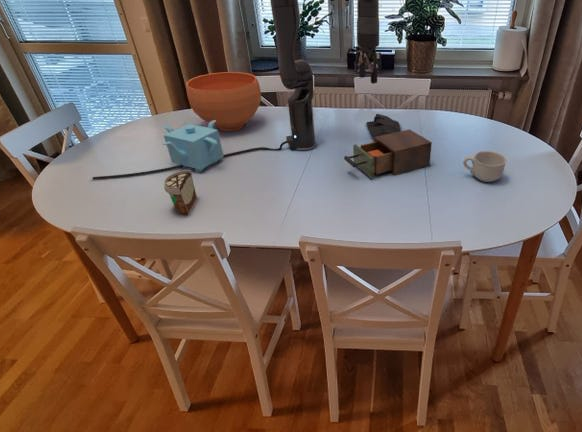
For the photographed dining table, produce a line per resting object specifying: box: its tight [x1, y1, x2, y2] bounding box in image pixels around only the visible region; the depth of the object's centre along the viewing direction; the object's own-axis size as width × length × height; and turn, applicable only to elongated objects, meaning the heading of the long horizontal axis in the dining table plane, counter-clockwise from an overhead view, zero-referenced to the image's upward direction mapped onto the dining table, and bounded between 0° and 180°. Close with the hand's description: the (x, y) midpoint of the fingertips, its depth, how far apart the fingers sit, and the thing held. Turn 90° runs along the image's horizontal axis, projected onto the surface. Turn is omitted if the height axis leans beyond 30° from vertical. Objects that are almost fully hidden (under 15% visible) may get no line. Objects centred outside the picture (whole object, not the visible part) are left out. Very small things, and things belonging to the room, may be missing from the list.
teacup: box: [462, 150, 507, 183], centre depth 136 cm, size 14×11×8 cm
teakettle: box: [161, 120, 225, 173], centre depth 143 cm, size 19×19×15 cm
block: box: [367, 150, 383, 167], centre depth 141 cm, size 4×4×4 cm
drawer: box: [343, 141, 393, 179], centre depth 141 cm, size 20×13×7 cm, turn 119°
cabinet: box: [373, 129, 433, 176], centre depth 145 cm, size 16×14×9 cm
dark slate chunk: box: [365, 113, 402, 138], centre depth 172 cm, size 15×22×5 cm
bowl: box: [185, 71, 262, 132], centre depth 173 cm, size 30×30×20 cm
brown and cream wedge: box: [163, 169, 198, 216], centre depth 120 cm, size 12×6×10 cm, turn 5°
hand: (368, 80), depth 140 cm, fingers open, 8 cm apart
